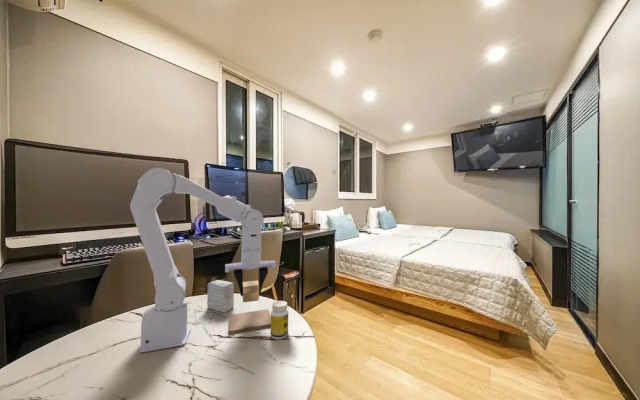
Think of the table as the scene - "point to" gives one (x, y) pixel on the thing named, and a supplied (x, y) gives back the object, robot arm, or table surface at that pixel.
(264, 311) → the walnut board
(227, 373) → the table surface
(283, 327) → the supplement bottle
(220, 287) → the medicine box
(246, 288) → the oak cube
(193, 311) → the table surface
